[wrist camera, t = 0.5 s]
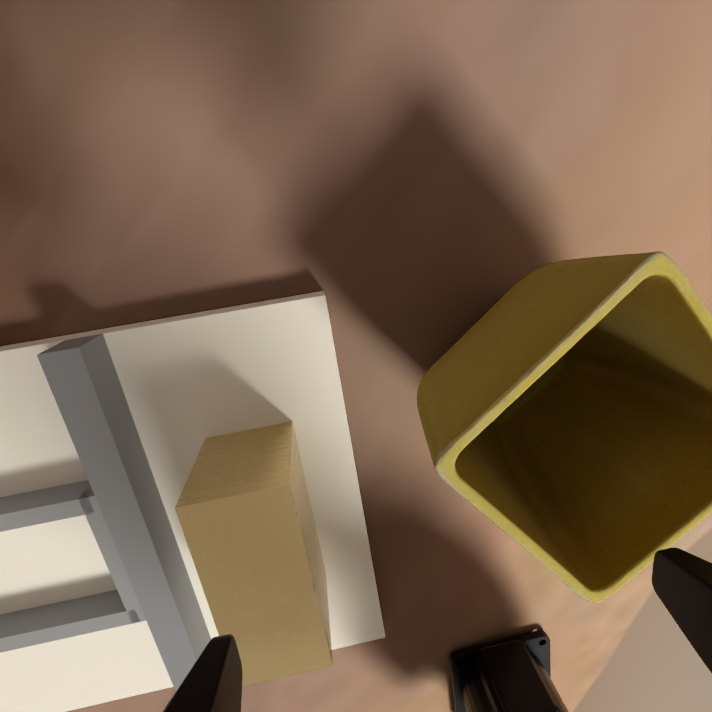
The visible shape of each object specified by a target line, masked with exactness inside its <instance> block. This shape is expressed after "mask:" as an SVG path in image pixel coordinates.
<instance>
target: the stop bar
mask: <svg viewBox="0 0 712 712" xmlns="http://www.w3.org/2000/svg"><path fill="white" fill-rule="evenodd" d="M175 510H176V513H177V516H178V518H179V521H180V524H181V527H182V530H183V533H184V536H185V539H186V542H187V545H188V547H189V550H190V553H191V556H192V559H193V562H194V565H195V568H196V571H197V573H198V576H199V579H200V582H201V585H202V588H203V591H204V594H205V597H206V600H207V602H208V605H209V608H210V611H211V614H212V617H213V620H214V623H215V626H216V628H217V631H218V634H219V636H222V635H227V634H232V635H233V636H234V638H235V641H236V645H237V648H238V652H239V656H240V659H241V663H242V674H243V676H242V687H244V686H248V685H252V684H257V683H261V682H265V681H269V680H274V679H278V678H282V677H286V676H291V675H295V674H299V673H303V672H308V671H312V670H316V669H321V668H325V667H329V666H333V662H332V648H331V634H330V620H329V606H328V592H327V579H326V570H325V565H324V561H323V556H322V552H321V547H320V543H319V538H318V534H317V529H316V525H315V520H314V516H313V511H312V507H311V502H310V498H309V493H308V489H307V484H306V480H305V475H304V471H303V466H302V462H301V457H300V453H299V448H298V444H297V439H296V435H295V430H294V426H293V421H291V422H286V423H281V424H276V425H271V426H265V427H260V428H255V429H250V430H245V431H239V432H234V433H229V434H224V435H219V436H214V437H208V438H205V440H204V442H203V445H202V447H201V449H200V452H199V454H198V456H197V458H196V461H195V463H194V465H193V468H192V470H191V472H190V475H189V477H188V479H187V481H186V484H185V486H184V488H183V491H182V493H181V495H180V497H179V500H178V502H177V504H176V507H175Z"/></svg>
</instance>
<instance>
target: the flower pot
mask: <svg viewBox="0 0 712 712" xmlns="http://www.w3.org/2000/svg"><path fill="white" fill-rule="evenodd" d="M417 406H418V410H419V415H420V419H421V422H422V426H423V430H424V433H425V437H426V440H427V444H428V447H429V450H430V454H431V457H432V460H433V464H434V468H435V470H436V472H437V474H438V475H439V476H440V477H441V478H442V479H443V480H444V481H445V482H446V483H447V484H448V485H450V486H451V487H452V488H453V489H454V490H456V491H457V492H458V493H460V494H461V495H462V496H463V497H464V498H465V499H467V500H468V501H469V502H470V503H471V504H472V505H474V506H475V507H476V508H477V509H478V510H479V511H481V512H482V513H483V514H484V515H486V516H487V517H488V518H489V519H490V520H492V521H493V522H494V523H495V524H496V525H498V526H499V527H500V528H501V529H502V530H504V531H505V532H506V533H507V534H508V535H509V536H510V537H512V538H513V539H514V540H515V541H516V542H517V543H519V544H520V545H521V546H522V547H523V548H525V549H526V550H527V551H528V552H529V553H531V554H532V555H533V556H534V557H535V558H537V559H538V560H539V561H540V562H541V563H542V564H543V565H544V566H546V567H547V568H548V569H549V570H550V571H552V572H553V573H554V574H555V575H556V576H557V577H558V578H559V579H560V580H561V581H563V582H564V583H565V584H566V585H567V586H568V587H569V588H571V589H572V590H573V591H574V592H575V593H577V594H578V595H579V596H581V597H583V598H584V599H586V600H588V601H590V602H592V603H596V604H597V603H599V602H602V601H603V600H605V599H606V598H608V597H609V596H611V595H612V594H613V593H615V592H616V591H617V590H618V589H620V588H621V587H622V586H624V585H625V584H626V583H628V582H629V581H630V580H631V579H633V578H634V577H635V576H636V575H637V574H639V573H640V572H641V571H642V570H643V569H644V568H645V567H647V566H648V565H649V564H650V563H651V562H652V561H653V560H654V555H655V553H656V552H657V551H659V550H663V549H668V548H670V547H671V546H672V545H673V544H674V543H675V542H676V541H678V540H679V539H680V538H681V537H682V536H684V535H685V534H686V533H687V532H689V531H690V530H691V529H692V528H693V527H695V526H696V525H697V524H698V523H700V522H701V521H702V520H703V519H704V518H706V517H707V516H708V515H709V514H711V513H712V315H711V313H710V311H709V310H708V309H707V307H706V305H705V304H704V303H703V301H702V300H701V298H700V297H699V296H698V294H697V293H696V291H695V290H694V288H693V287H692V285H691V283H690V282H689V280H688V279H687V277H686V276H685V274H684V273H683V272H682V270H681V269H680V268H679V267H678V266H677V264H676V263H675V262H674V261H673V260H672V259H671V258H670V257H668V256H667V255H666V254H665V253H663V252H651V253H640V254H626V255H614V256H602V257H591V258H581V259H572V260H565V261H559V262H555V263H552V264H549V265H546V266H544V267H541V268H539V269H537V270H535V271H533V272H532V273H530V274H529V275H527V276H526V277H524V278H523V279H522V280H520V281H519V282H518V283H517V284H515V285H514V286H513V287H512V288H511V289H510V290H509V291H508V292H507V293H506V294H505V295H504V296H503V297H502V298H501V299H500V300H499V301H498V302H497V303H496V304H495V305H494V306H493V307H492V308H491V309H490V310H489V311H488V312H487V313H486V314H484V315H483V316H482V317H481V318H480V319H479V320H478V321H477V322H476V323H475V324H474V325H473V326H472V327H471V328H470V329H469V330H468V331H467V332H466V333H465V334H464V335H463V336H462V337H461V338H460V339H459V340H458V341H457V342H456V343H455V344H454V345H453V346H452V347H451V348H450V349H449V350H448V351H447V352H446V353H445V354H444V355H443V356H442V357H441V358H440V359H439V360H438V361H437V362H435V364H434V365H433V366H432V367H431V368H430V369H429V370H428V371H427V372H426V374H425V375H424V377H423V379H422V380H421V383H420V385H419V388H418V392H417Z"/></svg>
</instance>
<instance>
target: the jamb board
mask: <svg viewBox="0 0 712 712" xmlns="http://www.w3.org/2000/svg"><path fill="white" fill-rule="evenodd" d="M291 421H293V426H294V430H295V435H296V439H297V444H298V448H299V453H300V457H301V462H302V466H303V471H304V475H305V480H306V484H307V489H308V493H309V498H310V502H311V507H312V511H313V516H314V520H315V525H316V529H317V534H318V538H319V543H320V547H321V552H322V556H323V561H324V565H325V570H326V579H327V592H328V606H329V620H330V634H331V648H332V650H333V649H338V648H342V647H346V646H351V645H355V644H359V643H364V642H368V641H372V640H377V639H381V638H385V631H384V626H383V620H382V614H381V609H380V603H379V597H378V592H377V586H376V580H375V575H374V569H373V563H372V558H371V552H370V546H369V540H368V535H367V529H366V523H365V518H364V512H363V506H362V501H361V495H360V489H359V484H358V478H357V472H356V467H355V461H354V455H353V450H352V444H351V438H350V433H349V427H348V421H347V416H346V410H345V404H344V399H343V393H342V387H341V382H340V376H339V370H338V365H337V359H336V353H335V347H334V342H333V336H332V330H331V325H330V319H329V313H328V308H327V302H326V296H325V293H324V291H319V292H313V293H307V294H302V295H296V296H290V297H284V298H279V299H273V300H267V301H261V302H255V303H250V304H244V305H238V306H232V307H226V308H221V309H215V310H209V311H203V312H197V313H192V314H186V315H180V316H174V317H168V318H163V319H157V320H151V321H145V322H139V323H134V324H128V325H122V326H116V327H110V328H105V329H99V330H93V331H87V332H81V333H76V334H70V335H64V336H58V337H53V338H47V339H41V340H35V341H29V342H24V343H18V344H12V345H6V346H0V712H66V711H70V710H75V709H79V708H83V707H88V706H92V705H96V704H100V703H105V702H109V701H113V700H118V699H122V698H126V697H131V696H135V695H139V694H144V693H148V692H152V691H157V690H161V689H165V688H170V687H174V689H175V691H177V689H178V688H179V686H180V685H181V683H182V682H183V680H184V679H185V677H186V676H187V674H188V673H189V671H190V670H191V668H192V667H193V665H194V664H195V662H196V661H197V659H198V658H199V656H200V655H201V653H202V651H203V650H204V648H205V647H206V645H207V644H208V642H209V641H210V640H211V639H212V638H214V637H217V636H219V634H218V631H217V628H216V626H215V623H214V620H213V617H212V614H211V611H210V608H209V605H208V602H207V600H206V597H205V594H204V591H203V588H202V585H201V582H200V579H199V576H198V573H197V571H196V568H195V565H194V562H193V559H192V556H191V553H190V550H189V547H188V545H187V542H186V539H185V536H184V533H183V530H182V527H181V524H180V521H179V518H178V516H177V513H176V510H175V507H176V504H177V502H178V500H179V497H180V495H181V493H182V491H183V488H184V486H185V484H186V481H187V479H188V477H189V475H190V472H191V470H192V468H193V465H194V463H195V461H196V458H197V456H198V454H199V452H200V449H201V447H202V445H203V442H204V440H205V438H208V437H214V436H219V435H224V434H229V433H234V432H239V431H245V430H250V429H255V428H260V427H265V426H271V425H276V424H281V423H286V422H291Z"/></svg>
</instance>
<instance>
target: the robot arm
mask: <svg viewBox="0 0 712 712" xmlns="http://www.w3.org/2000/svg"><path fill="white" fill-rule="evenodd" d="M652 584H653V587H654V590H655V592H656V593H657V595H658V596H659V598H660V599H661V601H662V602H663V604H664V605H665V607H666V608H667V609H668V611H669V613H670V614H671V615H672V617H673V618H674V620H675V621H676V623H677V624H678V625H679V627H680V629H681V630H682V632H683V633H684V634H685V636H686V637H687V639H688V640H689V642H690V643H691V645H692V646H693V648H694V649H695V651H696V652H697V653H698V655H699V656H700V658H701V659H702V660H703V662H704V663H705V665H706V666H707V667H708V669H709V670H710V671H711V673H712V563H710V562H708V561H705V560H703V559H701V558H699V557H696V556H694V555H692V554H690V553H688V552H685V551H683V550H681V549H678V548H668V549H663V550H659V551H657V552H656V553H655V555H654V563H653V573H652ZM449 662H450V671H451V680H452V689H453V697H454V706H455V712H568V710H567V708H566V706H565V704H564V703H563V701H562V699H561V697H560V695H559V693H558V692H557V690H556V688H555V686H554V684H553V682H552V681H551V679H550V639H549V637H548V636H547V634H546V633H545V632H544V631H538V632H533V633H529V634H525V635H521V636H516V637H512V638H508V639H504V640H500V641H495V642H491V643H487V644H483V645H478V646H474V647H470V648H466V649H462V650H457V651H454V652H452V653H451V654H450V656H449ZM242 676H243V674H242V663H241V659H240V656H239V652H238V648H237V645H236V641H235V638H234V636H233V635H232V634H227V635H222V636H217V637H214V638H212V639H211V640H210V641H209V642H208V644H207V645H206V647H205V648H204V650H203V651H202V653H201V655H200V656H199V658H198V659H197V661H196V662H195V664H194V665H193V667H192V668H191V670H190V671H189V673H188V674H187V676H186V677H185V679H184V680H183V682H182V683H181V685H180V686H179V688H178V689H177V691H176V692H175V694H174V695H173V697H172V698H171V700H170V701H169V703H168V704H167V706H166V707H165V709H164V710H163V712H241V696H242Z"/></svg>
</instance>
